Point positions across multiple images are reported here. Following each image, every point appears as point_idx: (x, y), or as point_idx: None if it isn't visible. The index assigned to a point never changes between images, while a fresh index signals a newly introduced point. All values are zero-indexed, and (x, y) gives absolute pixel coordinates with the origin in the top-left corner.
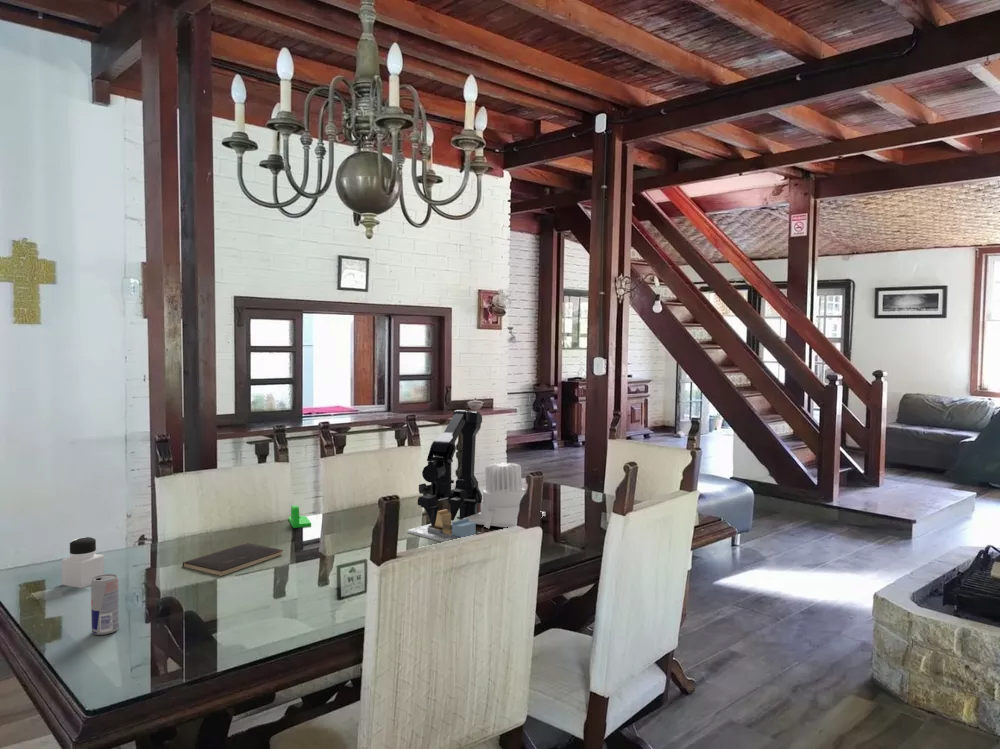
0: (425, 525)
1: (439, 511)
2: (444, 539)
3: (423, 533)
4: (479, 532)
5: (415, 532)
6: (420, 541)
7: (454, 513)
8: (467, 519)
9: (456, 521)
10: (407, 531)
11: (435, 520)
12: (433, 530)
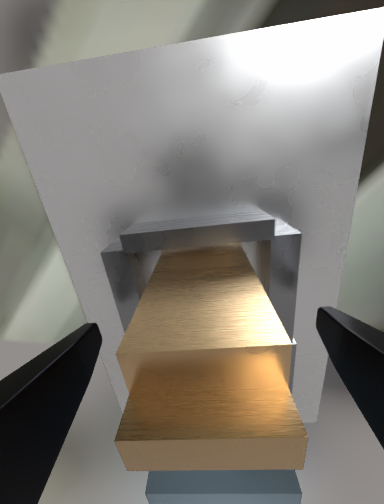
0: (214, 52)
1: (130, 464)
2: (113, 387)
3: (70, 254)
4: (315, 410)
5: (39, 186)
6: (33, 296)
7: (361, 405)
8: (283, 501)
9: (179, 498)
10: (7, 85)
11: (78, 395)
12: (120, 300)
